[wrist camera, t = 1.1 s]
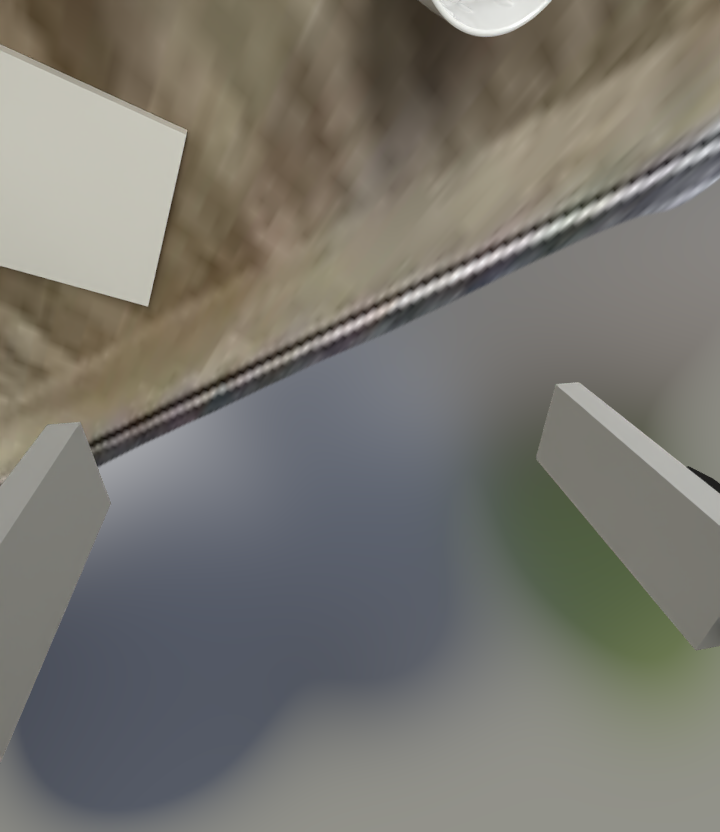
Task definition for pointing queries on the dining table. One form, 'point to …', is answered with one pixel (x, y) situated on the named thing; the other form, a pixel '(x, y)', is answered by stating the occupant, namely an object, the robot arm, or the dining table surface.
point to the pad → (82, 181)
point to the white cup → (486, 14)
